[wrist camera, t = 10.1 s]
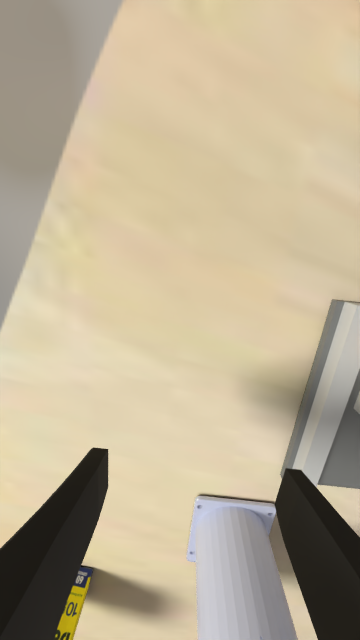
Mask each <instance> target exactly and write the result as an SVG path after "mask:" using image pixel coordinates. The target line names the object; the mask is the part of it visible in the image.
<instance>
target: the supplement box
mask: <svg viewBox="0 0 360 640" xmlns="http://www.w3.org/2000/svg"><path fill="white" fill-rule="evenodd" d="M92 573H93V569H92V568H88V567H80V569H79V572H78V574H77V577H76V580H75V582H74V585H73V587H72V590H71V593H70V595H69V598H68V600H67V603H66V606H65V608H64V611H63V614H62V617H61V620H60V622H59V625H58V628H57V631H56V634H55V637H54V640H73V637H74V634H75V631H76V627H77V624H78V621H79V617H80V614H81V611H82V608H83V604H84V601H85V598H86V594H87V590H88V587H89V583H90V580H91V576H92Z"/></svg>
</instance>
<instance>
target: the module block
mask: <svg viewBox="0 0 360 640" xmlns="http://www.w3.org/2000/svg"><path fill="white" fill-rule="evenodd" d="M354 409H355V410H356V411H357V412H358V413H359V414H360V392H359V395H358V397H357V400H356V402H355V405H354Z"/></svg>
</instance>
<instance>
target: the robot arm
mask: <svg viewBox="0 0 360 640" xmlns="http://www.w3.org/2000/svg"><path fill="white" fill-rule="evenodd" d="M107 489H108V449H101V448H92V449H91V450H90V451H89V452H88V453H87V455H86V456H85V457H84V458H83V460H82V461H81V462H80V463H79V464H78V466H77V467H76V468H75V469H74V470H73V472H72V473H71V474H70V475H69V476H68V477H67V479H66V480H65V481H64V482H63V483H62V484H61V485H60V487H59V488H58V489H57V490H56V491H55V492H54V493H53V494H52V495H51V497H50V498H49V499H48V500H47V501H46V502H45V503H44V504H43V505H42V506H41V508H40V509H39V510H38V511H37V512H36V513H35V514H34V515H33V516H32V517H31V518H30V519H29V520H28V521H27V522H26V523H25V524H24V525H23V526H22V527H21V528H20V529H19V530H18V531H17V532H16V533H15V534H14V535H13V536H12V537H11V538H10V539H9V540H8V541H7V542H6V543H5V544H4V545H3V546H2V547H1V548H0V640H54V637H55V634H56V631H57V628H58V625H59V622H60V620H61V617H62V614H63V611H64V608H65V606H66V603H67V600H68V598H69V595H70V593H71V590H72V587H73V585H74V582H75V580H76V577H77V574H78V572H79V569H80V567H81V564H82V561H83V559H84V556H85V554H86V551H87V548H88V546H89V543H90V541H91V538H92V535H93V533H94V530H95V528H96V525H97V522H98V520H99V516H100V513H101V510H102V506H103V503H104V499H105V496H106V492H107ZM276 513H277V517H278V521H279V525H280V529H281V533H282V536H283V540H284V543H285V546H286V549H287V552H288V555H289V558H290V560H291V563H292V566H293V569H294V572H295V575H296V578H297V581H298V584H299V586H300V589H301V592H302V595H303V598H304V601H305V604H306V606H307V609H308V612H309V615H310V618H311V621H312V624H313V626H314V629H315V632H316V635H317V638H318V640H360V537H359V536H358V535H357V534H356V533H355V532H354V531H353V530H352V528H351V527H350V526H349V525H348V524H347V523H346V522H345V520H344V519H343V518H342V517H341V516H340V515H339V514H338V512H337V511H336V510H335V509H334V508H333V507H332V505H331V504H330V503H329V502H328V501H327V500H326V498H325V497H324V496H323V495H322V494H321V493H320V491H319V490H318V489H317V488H316V487H315V485H314V484H313V483H312V482H311V481H310V480H309V478H308V477H307V476H306V475H305V474H304V473H303V472H302V470H299V469H290V468H286V469H285V472H284V475H283V479H282V482H281V485H280V488H279V492H278V495H277V498H276V502H275V505H274V504H272V503H264V502H255V501H245V500H236V499H227V498H217V497H208V496H197V497H196V498H195V504H194V510H193V516H192V523H191V529H190V536H189V542H188V548H187V560H188V561H190V562H196V593H197V635H198V640H298V638H297V635H296V631H295V628H294V624H293V621H292V617H291V614H290V610H289V607H288V603H287V600H286V596H285V593H284V589H283V586H282V582H281V579H280V575H279V572H278V568H277V565H276V561H275V558H274V554H273V551H272V547H271V544H270V540H269V534H270V530H271V527H272V524H273V521H274V517H275V514H276Z"/></svg>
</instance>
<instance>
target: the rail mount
mask: <svg viewBox="0 0 360 640" xmlns="http://www.w3.org/2000/svg"><path fill="white" fill-rule="evenodd" d="M359 392H360V302H352V301H342V300H332V302H331V305H330V309H329V312H328V315H327V319H326V322H325V325H324V329H323V332H322V336H321V339H320V342H319V346H318V349H317V352H316V356H315V359H314V363H313V366H312V369H311V373H310V376H309V379H308V383H307V386H306V390H305V393H304V396H303V400H302V403H301V406H300V410H299V413H298V417H297V420H296V423H295V427H294V430H293V433H292V437H291V440H290V443H289V447H288V450H287V454H286V457H285V460H284V464H283V467H282V470H281V474H280V475H281V477H282V479H283V475H284V472H285V469H286V468H290V469H299V470H302V472H303V473H304V474H305V475H306V476H307V477H308V478H309V480H310V481H311V482H312V483H313V484H314V485H315V487H316V486H317V484H318V485H328V486H337V487H346V488H356V489H360V414H359V413H358V412H357V411H356V410H355V409H354V405H355V402H356V400H357V397H358V395H359Z"/></svg>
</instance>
